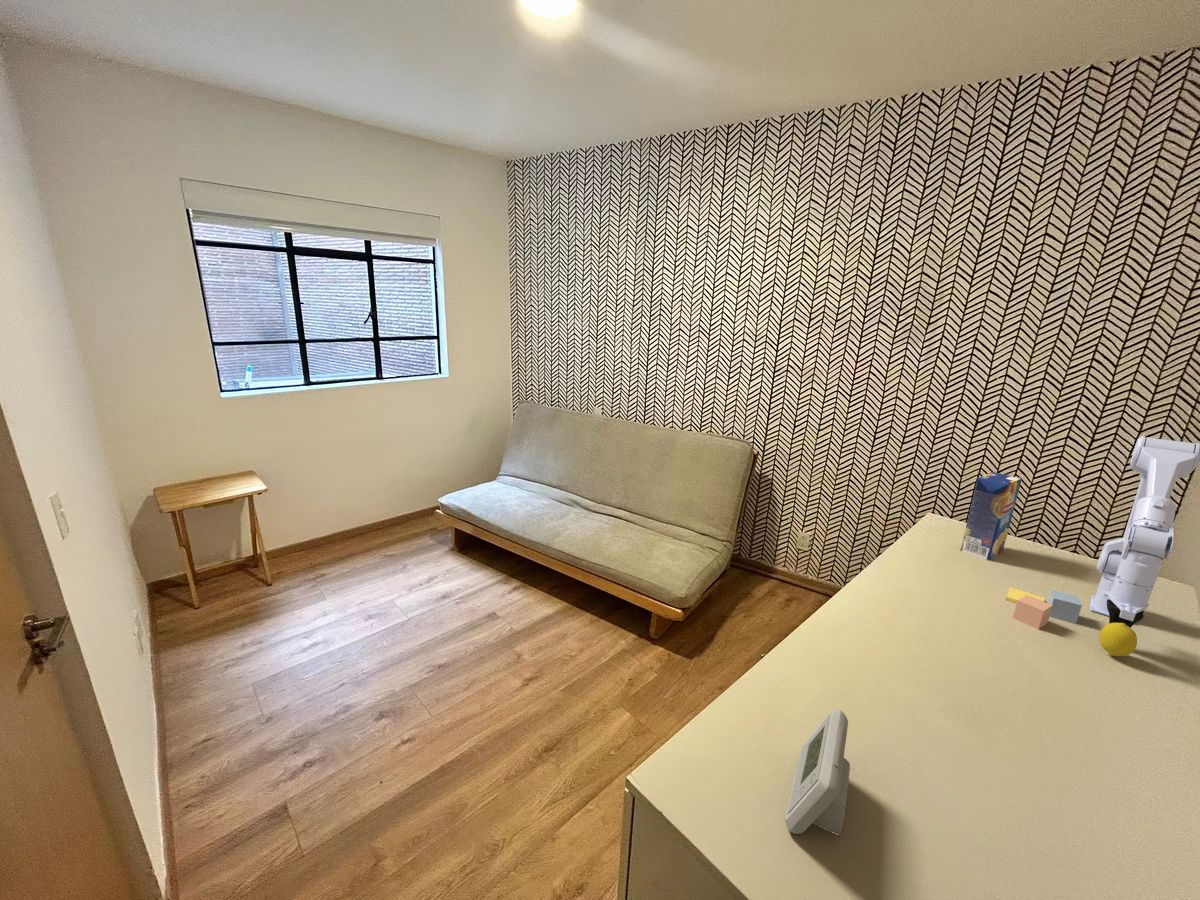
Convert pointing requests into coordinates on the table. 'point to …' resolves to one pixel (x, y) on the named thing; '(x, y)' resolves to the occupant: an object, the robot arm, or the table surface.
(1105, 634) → the lemon
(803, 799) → the digital clock
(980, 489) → the juice carton
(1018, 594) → the tile
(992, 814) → the table surface
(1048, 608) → the terracotta block
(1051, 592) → the slate block
